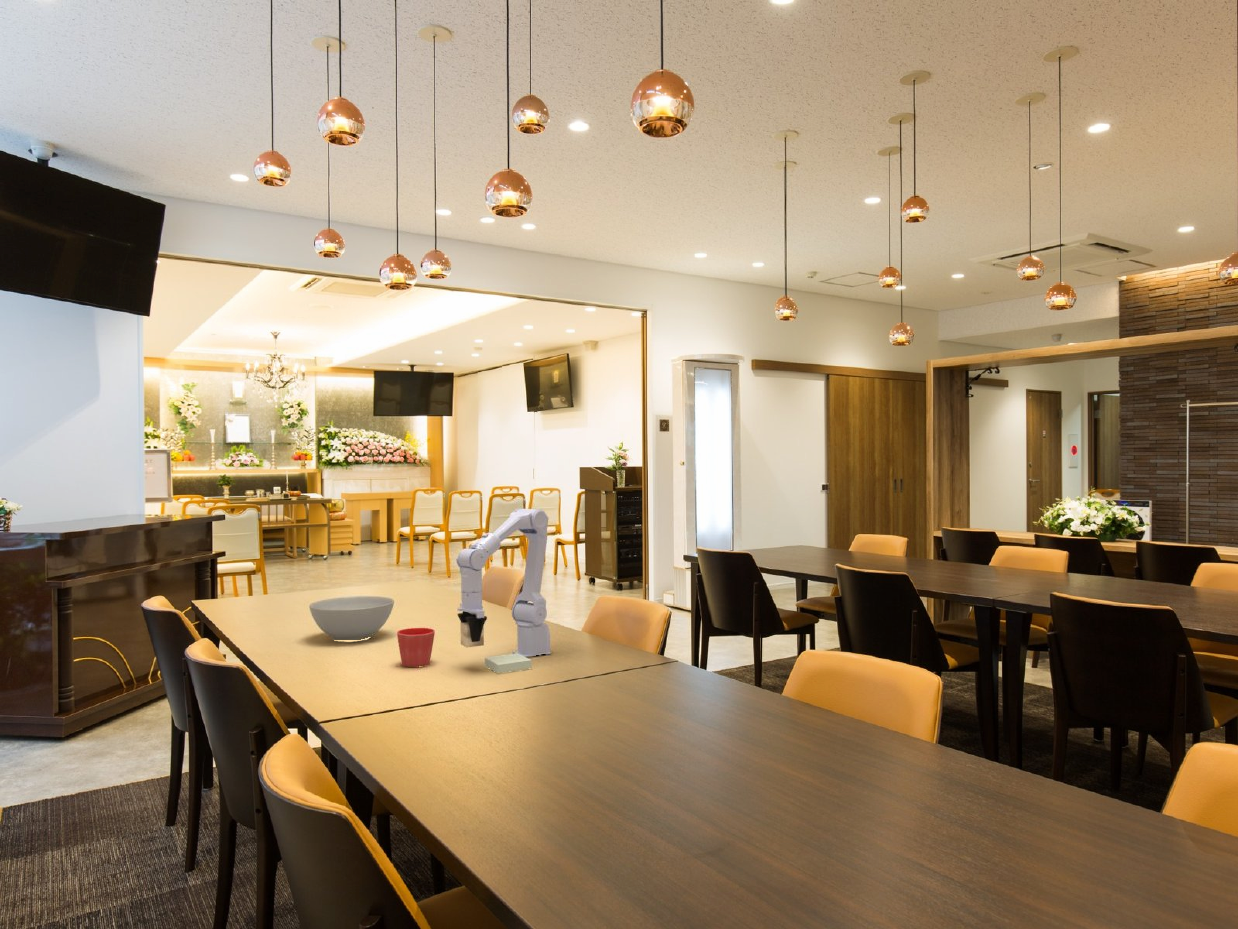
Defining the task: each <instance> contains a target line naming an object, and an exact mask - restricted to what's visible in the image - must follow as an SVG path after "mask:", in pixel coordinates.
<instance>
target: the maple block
mask: <svg viewBox="0 0 1238 929" xmlns="http://www.w3.org/2000/svg"><path fill="white" fill-rule="evenodd" d="M484 627H485V626H483V629H482V633H481V637H480V641H478V642H472V640H471V635H470V628H469V625H468V622H465V623H461V622H460V645H462V646H463V647H465V648H474V647H475V648H476V647H481V646H485V639H484V638H485V637H484V636H485V635H484V633H485V631H484V630H485V629H484Z"/></svg>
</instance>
